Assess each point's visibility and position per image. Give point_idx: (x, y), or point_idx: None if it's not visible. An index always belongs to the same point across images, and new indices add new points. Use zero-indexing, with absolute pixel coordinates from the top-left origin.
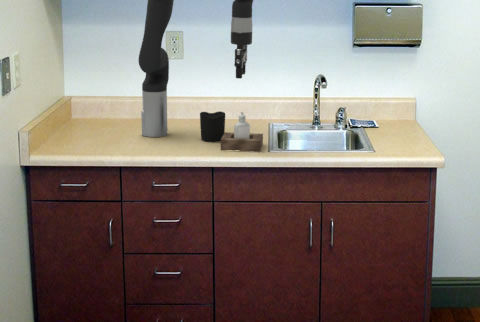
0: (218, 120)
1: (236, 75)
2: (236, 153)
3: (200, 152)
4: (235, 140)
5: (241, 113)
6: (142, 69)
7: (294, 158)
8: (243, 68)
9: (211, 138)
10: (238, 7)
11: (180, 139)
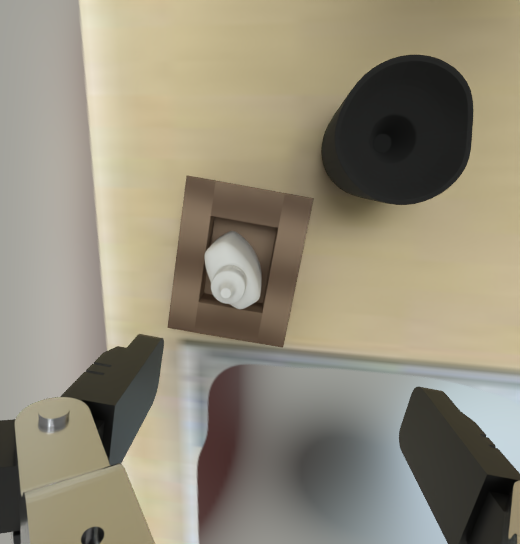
0: (338, 167)
1: (130, 352)
2: (157, 233)
3: (165, 96)
4: (179, 236)
5: (221, 287)
6: None
7: None
8: (430, 478)
9: (323, 141)
10: None
11: (380, 3)
